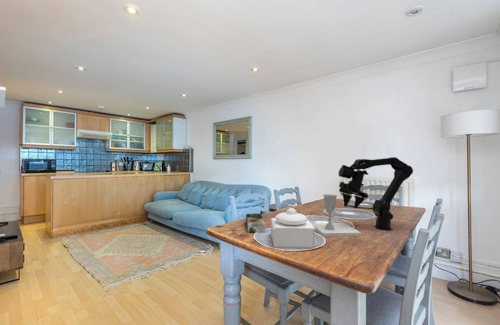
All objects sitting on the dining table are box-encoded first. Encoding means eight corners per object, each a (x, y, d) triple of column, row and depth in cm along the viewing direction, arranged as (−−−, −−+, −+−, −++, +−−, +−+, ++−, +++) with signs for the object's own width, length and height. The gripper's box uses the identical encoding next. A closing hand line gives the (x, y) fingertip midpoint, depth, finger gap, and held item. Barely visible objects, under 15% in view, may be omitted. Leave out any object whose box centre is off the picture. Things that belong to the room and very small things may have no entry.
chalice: (338, 228, 125) (339, 195, 124) (334, 231, 119) (334, 196, 119) (325, 226, 129) (325, 194, 129) (320, 228, 124) (320, 195, 124)
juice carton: (266, 233, 121) (266, 221, 121) (247, 233, 120) (247, 222, 120) (261, 223, 141) (261, 213, 141) (245, 223, 140) (245, 213, 140)
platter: (344, 225, 136) (344, 223, 136) (361, 235, 118) (361, 232, 118) (311, 226, 135) (311, 223, 135) (323, 236, 117) (323, 233, 117)
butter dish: (270, 235, 118) (271, 203, 118) (306, 235, 118) (306, 204, 118) (273, 247, 100) (274, 211, 100) (315, 248, 100) (315, 212, 100)
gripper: (354, 180, 142) (348, 205, 143) (334, 175, 133) (328, 201, 133) (371, 184, 133) (364, 210, 133) (351, 179, 123) (344, 207, 123)
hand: (350, 207), depth 131 cm, fingers open, 9 cm apart
